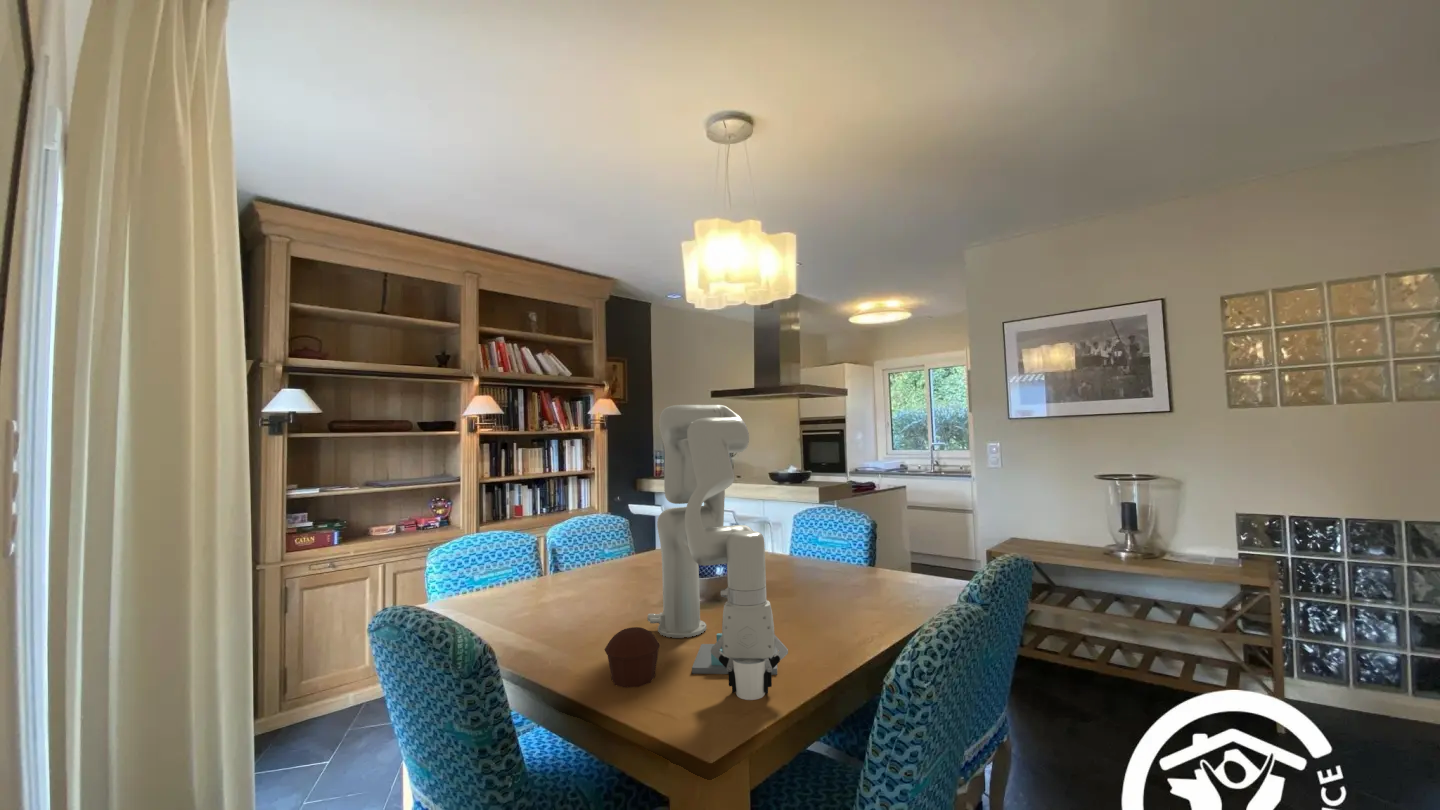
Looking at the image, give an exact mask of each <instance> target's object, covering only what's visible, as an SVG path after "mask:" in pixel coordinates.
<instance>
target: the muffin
mask: <svg viewBox="0 0 1440 810" xmlns="http://www.w3.org/2000/svg"><path fill="white" fill-rule="evenodd" d="M660 646H661V644H660V642H659V641H658V639H657V638H656V637H655V635H654V634H653V632H652V631H650V630H648V629H645V628H644V627H640V626H639V627H638V626H632V627H628V628H627V627H626V628H624V629H621V630H620V631H619V632H617V633H615V634H614V635H613V636H612V637H611V639H610V640H609V642H608V643H607V644H606V647H605V648H604V652H605V654H606V656H607V660H608V665H609V671H610V678H611V681H612V680H613V681H612V682H613V684H614V686H616V685H617V687H622V688H625V689H629V688H639V687H642V686H645V685H647V684H651V682H652V681H653V680H654V678H655V677H656V671H657V670H656V669H657V663H658V655H659V649H660Z"/></svg>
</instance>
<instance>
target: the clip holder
mask: <svg viewBox="0 0 1440 810" xmlns="http://www.w3.org/2000/svg"><path fill="white" fill-rule="evenodd" d="M721 636H722V632H721V633H718V632H717V633H716V636H715V637H716V642H717V641H718V640H719V639H720V637H721ZM714 645H715V643H701V644H700V647H699V649H698V651H697V653H696V656H695V659H694V661H693V665H692V667H691V674H698V675H699V674H705V675H706V674H707V675H709V674H710V675H728V671H727V669H726V667H725V666H724V665H723V664H722V663H721V662H720V661H719V660H718V659H717V658H716V657H715V656H714V655H712V654H711V648H712V647H713V646H714ZM720 651H721V652H722V653H723V651H722V647H721V648H720ZM778 651H779V650H778V649H777V648H776V647H775V652H774V655H775V654H777V653H778ZM774 655H773V656H774ZM773 656H772V657H773ZM772 657H771V658H772ZM778 664H779V663H778ZM778 664H777V665H776V666H775V667H774V668H773V669H772V671H771V676H772V675H778Z"/></svg>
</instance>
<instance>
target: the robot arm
mask: <svg viewBox="0 0 1440 810" xmlns="http://www.w3.org/2000/svg"><path fill="white" fill-rule="evenodd" d="M658 426H659V433H660V438H661V441H662V443H663V447H664V477H663V479H664V487H663V490H664V496H665V499H666V500H667V501H668V503H671V504H675V505H685V504H686V506H681V507H680V506H679V507H673V508H668V509H666V510H663V511H662V512H661V513H660V514H659V516H658V518H657V523H656V524H657V534H658V537H659V538H658V539H659V545H660V551H661V552H660V553H661V569H662V571H661V573H662V612H659V613H648V614H647V621H648V622H649V623H650V624H658V626H657V633H658V632H659V633H660V634H659V633H658V634H659V635H660V636H662V635H663V636H662V637H665V636H666V638H670V637H672V638H671V639H673V638H674V639H685V638H684V637H687V638H691V637H692V636H693V637H696V635H697V636H699V635H702V634H703V633H705V632H706V630H707V623H706V622H705V621H703V620H701V606H700V605H701V604H700V603H701V602H700V601H701V600H700V598H701V597H700V575H699V574H700V573H699V572H700V570H699V569H700V567H699V566H703V567H704V566H713V565H714V566H715V565H721V564H726V569H727V570H726V571H727V587H726V588H725V589H720V597H723V598H726V599H727V601H725V603H724V604H723V612H722V622H721V625H722V627H721V628H722V629H721V633H722V636H721V637H720V639H719V640H718V641H717V640H716V642H715V643H714V644H715V645H714V646H713V647H712V648H711V654H712V655H714V656H715V657H716V658H717V659H718V660H719V661H720V662H721V663H722V664H723V665H724V666H725V667H726V669H727V671H728V674H727V676H728V687H731V693H732V694H736V681H735V673H734V669H733V666H734V665H733V660H735V659H762V660H765V668H766V671H765V673H764V693H765V694H768V693H769V688H772V686H773V680H772V678H773V677H772V675H771V671H772V669H773V668H774V667H775V666H776V665H777V664H779V663H780V661H782V660H783V659H784V658H785V657H786V656H787V655H788V653H789V649H788V648H787V646H786V645H785V644H784V643H783V642H782V641H781V640H780V639H779V638H778V636H777V635H776V633H775V623H774V617H773V616H774V615H773V610H772V605H771V602H770V601H769V600H767V578H766V575H767V574H766V552H765V551H766V549H765V545H766V544H765V538H764V535H763V534H762V533H761V532H759V531H756V530H753V529H752V528H751V527H750V526H748V525H745V524H733V525H724V524H725V523H724V521H725V520H724V519H725V495H726V492H725V491H726V490H727V489H728V488H730V486H732V485H733V484H734V481H735V479H736V478H735V473H734V470H733V465H732V461H731V458H730V453H731V454H732V453H733V454H734V453H735V454H737V453H743V452H744V451H746V449H747V448H748V445H749V443H750V432H749V429H748V426H747V425H746V423H745V421H744V420H743V419H742V417H741V416H740V415H739V414H738V413H736V412H734V411H733V410H732V409H731V408H729V407H727V406H726V405H722V404H674V405H670V406H667V407H665V408H664V409H662V411H661V413H660V415H659V421H658ZM704 631H705V632H704ZM701 633H702V634H701ZM693 637H692V638H693ZM721 647H722V651H723V653H722V652H721V651H720V648H721ZM775 647H776V648H777V649H778V653H777V654H775V655H774V652H775ZM773 655H774V656H773ZM772 656H773V657H772ZM771 657H772V658H771ZM777 666H778V665H777Z"/></svg>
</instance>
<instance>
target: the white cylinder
mask: <svg viewBox="0 0 1440 810" xmlns="http://www.w3.org/2000/svg"><path fill="white" fill-rule="evenodd" d="M733 665H734V666H733V669H734V673H735V681H736V692H735V694H736V696H737V697H738V698H739V699H742V700H746V701H753V700H759V699H762V698H763V697H764V696H765V695H766V693H764V673H765V671H766V668H765V660H762V659H735V660H733Z"/></svg>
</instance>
